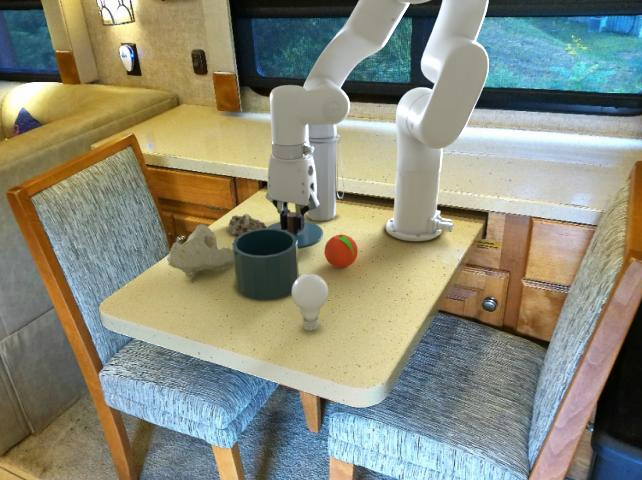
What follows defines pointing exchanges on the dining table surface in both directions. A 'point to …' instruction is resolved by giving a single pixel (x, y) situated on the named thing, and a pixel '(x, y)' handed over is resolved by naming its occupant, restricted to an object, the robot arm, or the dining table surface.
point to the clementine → (341, 251)
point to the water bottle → (324, 169)
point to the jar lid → (307, 235)
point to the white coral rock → (199, 253)
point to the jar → (265, 263)
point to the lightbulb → (310, 298)
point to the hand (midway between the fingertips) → (292, 229)
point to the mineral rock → (244, 224)
